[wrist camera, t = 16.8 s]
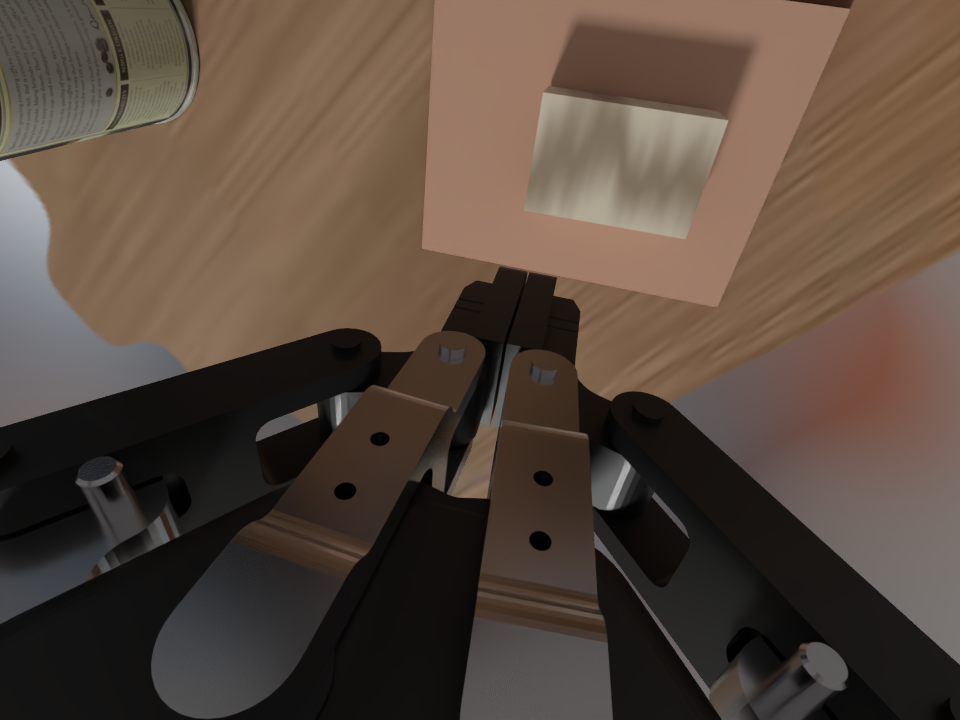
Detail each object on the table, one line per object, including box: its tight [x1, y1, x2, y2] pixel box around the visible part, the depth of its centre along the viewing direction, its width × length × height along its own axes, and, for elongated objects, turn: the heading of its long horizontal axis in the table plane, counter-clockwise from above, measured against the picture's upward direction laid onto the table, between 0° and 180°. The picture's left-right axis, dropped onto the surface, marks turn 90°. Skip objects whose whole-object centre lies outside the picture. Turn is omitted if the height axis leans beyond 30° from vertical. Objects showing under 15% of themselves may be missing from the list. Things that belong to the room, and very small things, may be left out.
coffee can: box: [0, 0, 199, 161], centre depth 26 cm, size 10×10×14 cm
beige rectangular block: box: [524, 86, 729, 239], centre depth 28 cm, size 6×3×9 cm
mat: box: [422, 0, 850, 307], centre depth 29 cm, size 16×20×1 cm
